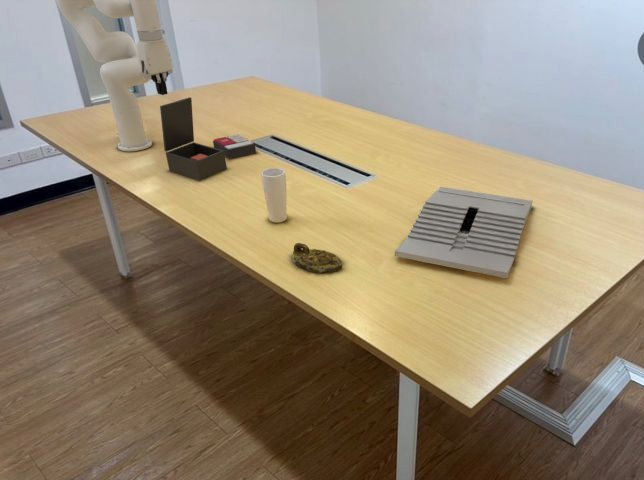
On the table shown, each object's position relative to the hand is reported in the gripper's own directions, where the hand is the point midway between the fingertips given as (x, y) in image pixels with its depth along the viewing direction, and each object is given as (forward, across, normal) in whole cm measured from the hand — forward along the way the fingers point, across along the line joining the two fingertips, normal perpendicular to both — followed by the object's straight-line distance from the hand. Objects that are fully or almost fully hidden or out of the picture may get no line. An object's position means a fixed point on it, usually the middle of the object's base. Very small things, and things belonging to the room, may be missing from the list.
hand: (162, 93), depth 188 cm
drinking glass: (+25, +13, +60) cm, 66 cm away
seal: (+25, +26, +85) cm, 93 cm away
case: (+25, 0, +11) cm, 27 cm away
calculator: (+25, -21, +8) cm, 34 cm away
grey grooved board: (+26, -11, +111) cm, 115 cm away
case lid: (+10, 0, +5) cm, 11 cm away
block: (+24, 0, +13) cm, 28 cm away
